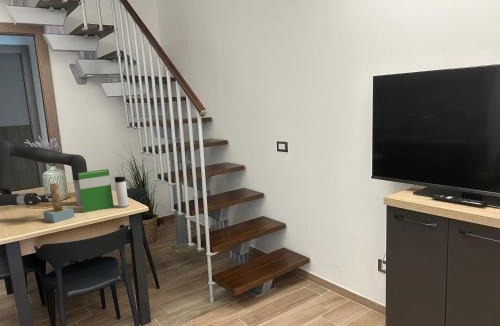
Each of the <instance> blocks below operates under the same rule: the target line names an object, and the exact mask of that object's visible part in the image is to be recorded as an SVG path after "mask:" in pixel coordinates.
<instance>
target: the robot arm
mask: <svg viewBox="0 0 500 326" xmlns="http://www.w3.org/2000/svg"><path fill="white" fill-rule="evenodd" d="M11 157H14V158H22V159H24V160H25V159H26V160H29V161H32V162H36V163H42V164H53V165H56V164H57V165H65V166H68V167H69V166H70V168H71V176H72V181H73V189H74V194H75V202H76V205H77V206H83V203H82V197H81V190H80V184H79V177H78V173H82V172H88V168H87V167H88V165H87V161H86V158H85V157H84V156H83V155H81V154H74V153H73V154H71V153H66V152H61V151H57V150H53V149H49V148H45V147H38V146H26V145H20V144H15V143H12V142H10V141H9V140H5V139H1V140H0V193H1V194H0V207H5V206H7V207H9V206H26V207H27V206H36V205H39V204H43V203H45V204H46V203H49V200H52V196H51V193H43V194H38V193H36V192H23V193H12V189H11V172H10V159H11Z"/></svg>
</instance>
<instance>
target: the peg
mask: <svg viewBox="0 0 500 326" xmlns="http://www.w3.org/2000/svg"><path fill="white" fill-rule="evenodd" d="M49 189H50V194H51V196H52V199H51V201H52V207H53V208H52V209H54V212H59V211H62V207H63V206H62V200H61V195H60V194H61V193H60V188H59V183H50V184H49Z"/></svg>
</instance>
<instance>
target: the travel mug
mask: <svg viewBox="0 0 500 326" xmlns="http://www.w3.org/2000/svg"><path fill="white" fill-rule="evenodd" d="M114 183H115V191H116V199H117V206H118V208H120V209H124V208H127V207H129V204H130V203H129V199H128V191H127V183H126V177H125V176H115V177H114Z"/></svg>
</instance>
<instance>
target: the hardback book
mask: <svg viewBox="0 0 500 326" xmlns="http://www.w3.org/2000/svg"><path fill="white" fill-rule="evenodd" d="M78 177H79V184H80V190H81V197H82V203H83V205H82V208H83V213H84V214H85V213H89V212H96V211H102V210H107V209H113V208H114V207H115V205H114V198H113V191H112V184H111V183H112V181H111V177H110V171H109V169H108V168H106V169H105V168H104V169H97V170H92V171H87V172H82V173H78Z"/></svg>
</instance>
